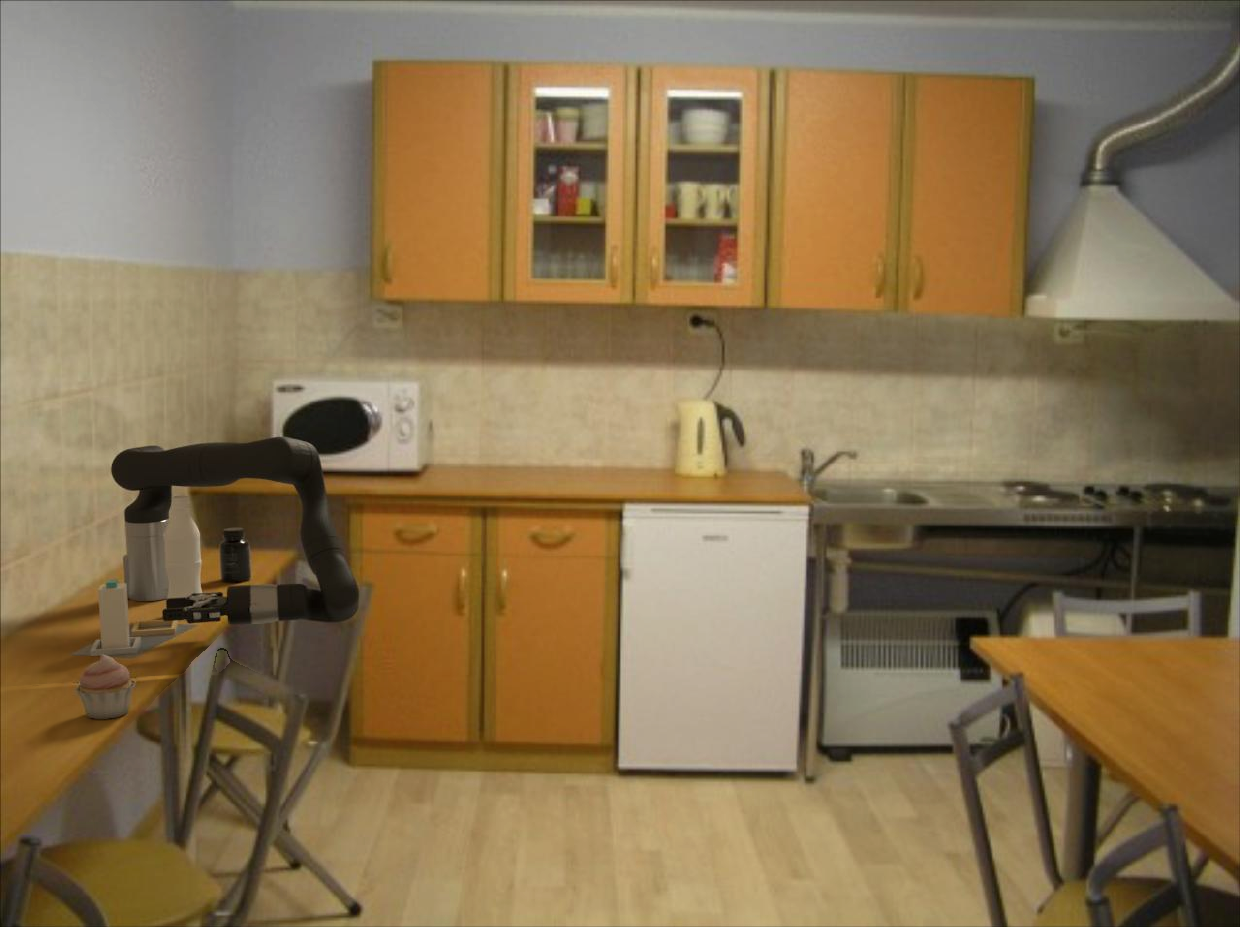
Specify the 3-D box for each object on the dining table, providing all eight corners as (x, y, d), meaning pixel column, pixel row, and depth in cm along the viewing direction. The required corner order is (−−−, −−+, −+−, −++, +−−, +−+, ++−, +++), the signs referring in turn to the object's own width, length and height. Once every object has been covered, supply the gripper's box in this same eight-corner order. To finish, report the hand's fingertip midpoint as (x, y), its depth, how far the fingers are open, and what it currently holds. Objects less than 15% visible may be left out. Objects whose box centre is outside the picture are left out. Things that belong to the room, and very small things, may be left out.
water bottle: (193, 620, 284) (187, 500, 280) (161, 619, 285) (154, 499, 282) (210, 612, 291) (204, 494, 287) (179, 610, 292) (172, 493, 289)
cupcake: (90, 705, 229) (86, 646, 227) (146, 705, 228) (143, 646, 227) (66, 723, 219) (62, 662, 218) (124, 723, 219) (120, 662, 218)
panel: (68, 658, 257) (67, 649, 256) (140, 624, 281) (139, 617, 280) (132, 661, 254) (131, 652, 254) (199, 627, 278) (198, 619, 278)
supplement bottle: (257, 578, 322) (255, 528, 320) (235, 584, 316) (232, 532, 315) (237, 575, 326) (234, 525, 324) (214, 581, 320) (211, 530, 318)
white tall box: (102, 652, 258) (97, 584, 256) (105, 646, 262) (100, 579, 260) (127, 651, 259) (123, 583, 257) (130, 644, 263) (126, 577, 261)
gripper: (253, 577, 272) (166, 582, 268) (251, 593, 258) (160, 598, 254) (254, 614, 273) (168, 619, 269) (253, 632, 259) (162, 638, 255)
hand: (164, 609), depth 262 cm, fingers open, 8 cm apart
